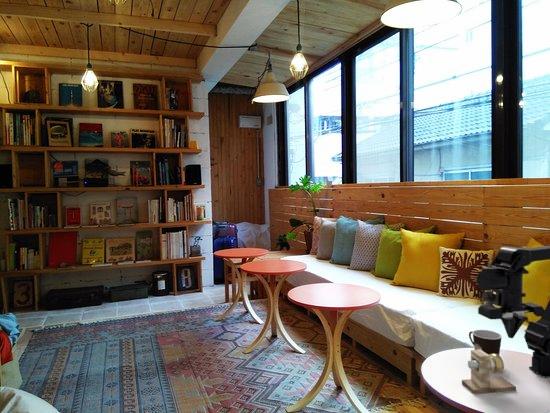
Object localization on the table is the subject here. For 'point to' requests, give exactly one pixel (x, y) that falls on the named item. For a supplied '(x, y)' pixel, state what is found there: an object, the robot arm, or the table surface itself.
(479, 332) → the coffee mug
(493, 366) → the shaft
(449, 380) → the table surface
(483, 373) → the bearing stand
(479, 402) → the table surface
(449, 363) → the table surface
